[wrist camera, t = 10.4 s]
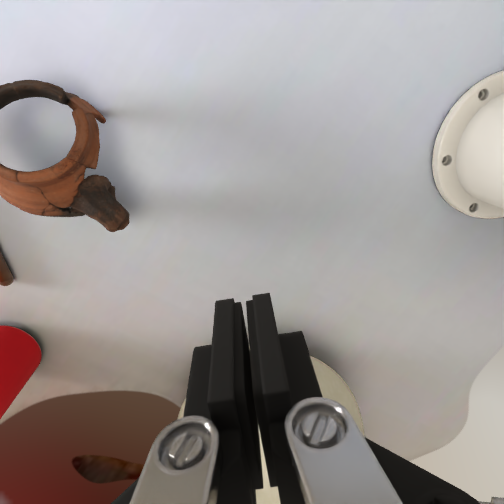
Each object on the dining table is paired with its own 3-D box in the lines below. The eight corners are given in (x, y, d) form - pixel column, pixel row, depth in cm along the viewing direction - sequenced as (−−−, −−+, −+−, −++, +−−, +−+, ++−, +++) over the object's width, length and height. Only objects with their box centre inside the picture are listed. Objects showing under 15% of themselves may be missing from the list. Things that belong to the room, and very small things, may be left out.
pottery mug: (-7, 184, 29) (-86, 140, 21) (69, 105, 31) (23, 37, 23) (108, 268, 30) (74, 257, 22) (177, 186, 32) (169, 147, 24)
